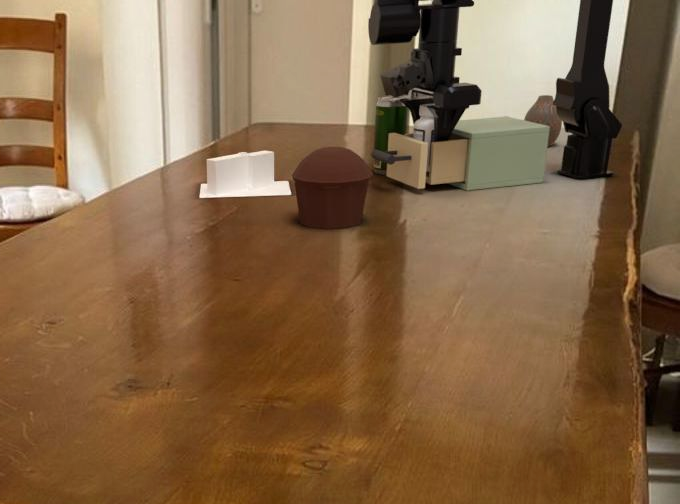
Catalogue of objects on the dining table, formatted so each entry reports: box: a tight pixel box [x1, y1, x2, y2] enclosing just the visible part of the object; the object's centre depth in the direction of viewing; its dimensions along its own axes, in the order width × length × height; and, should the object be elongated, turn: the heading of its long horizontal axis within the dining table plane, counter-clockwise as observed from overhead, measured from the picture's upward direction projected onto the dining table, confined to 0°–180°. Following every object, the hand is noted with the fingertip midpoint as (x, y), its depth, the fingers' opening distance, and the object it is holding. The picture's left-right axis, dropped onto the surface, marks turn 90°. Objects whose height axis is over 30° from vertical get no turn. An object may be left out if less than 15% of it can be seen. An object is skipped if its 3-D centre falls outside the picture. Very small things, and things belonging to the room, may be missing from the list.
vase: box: [523, 94, 563, 148], centre depth 189 cm, size 7×7×9 cm
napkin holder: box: [198, 150, 292, 199], centre depth 166 cm, size 15×11×6 cm
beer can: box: [372, 95, 409, 176], centre depth 172 cm, size 5×5×12 cm
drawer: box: [370, 132, 469, 190], centre depth 162 cm, size 17×11×7 cm
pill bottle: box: [412, 104, 435, 172], centre depth 160 cm, size 5×5×10 cm
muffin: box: [291, 146, 374, 230], centre depth 143 cm, size 12×11×10 cm
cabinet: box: [447, 115, 550, 191], centre depth 164 cm, size 14×13×9 cm
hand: (430, 148), depth 161 cm, fingers open, 5 cm apart
